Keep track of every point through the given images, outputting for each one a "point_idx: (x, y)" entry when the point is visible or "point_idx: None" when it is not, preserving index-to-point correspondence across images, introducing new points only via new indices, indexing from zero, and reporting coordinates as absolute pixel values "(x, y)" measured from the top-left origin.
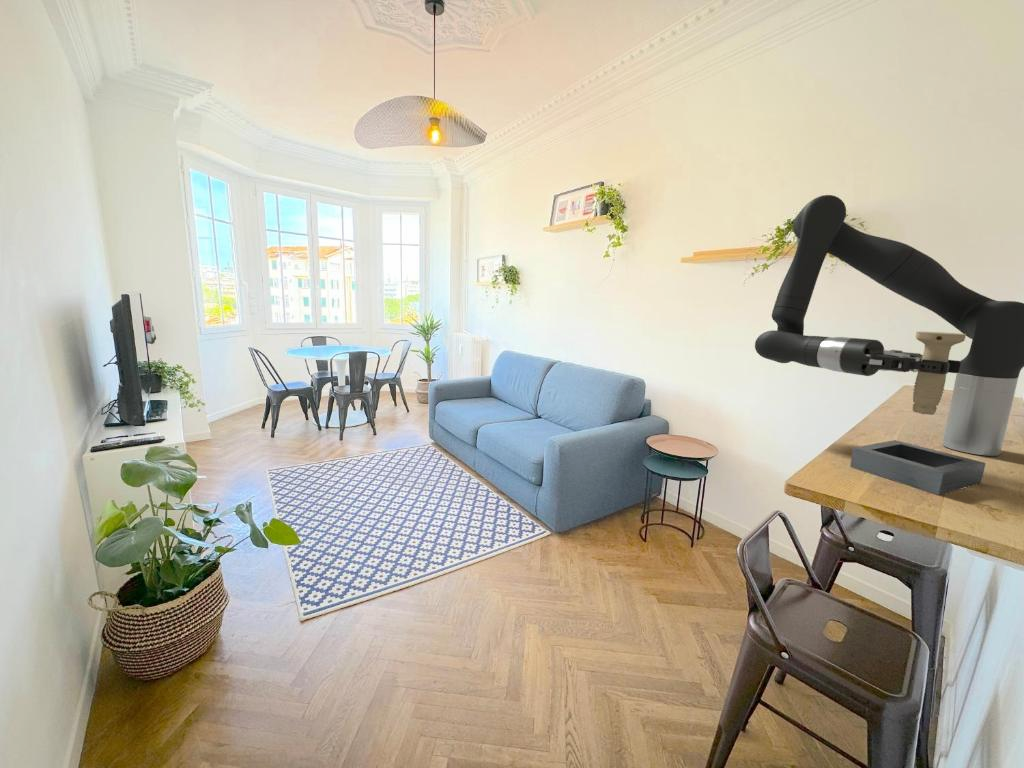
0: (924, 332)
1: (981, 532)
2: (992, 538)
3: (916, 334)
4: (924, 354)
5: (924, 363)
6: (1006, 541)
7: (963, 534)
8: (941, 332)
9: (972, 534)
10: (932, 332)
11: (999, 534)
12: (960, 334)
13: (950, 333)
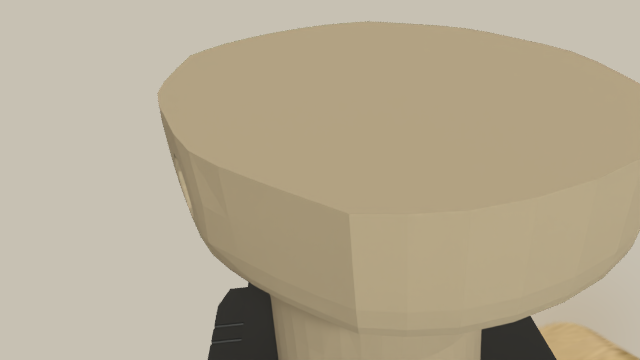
0: (603, 87)
1: (583, 354)
2: (582, 337)
3: (637, 202)
4: (474, 356)
5: (544, 354)
6: (565, 327)
7: (633, 357)
8: (205, 107)
9: (612, 353)
10: (384, 104)
11: (551, 343)
12: (373, 23)
13: (312, 55)
